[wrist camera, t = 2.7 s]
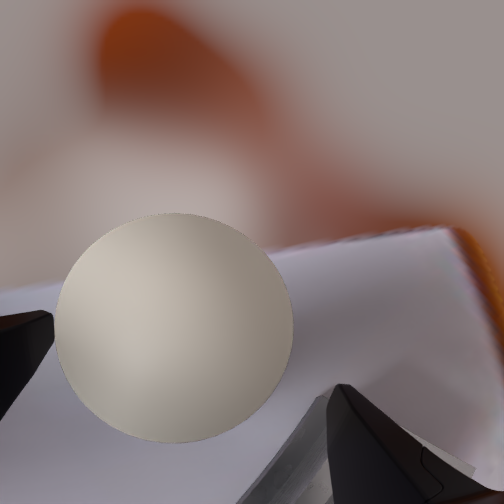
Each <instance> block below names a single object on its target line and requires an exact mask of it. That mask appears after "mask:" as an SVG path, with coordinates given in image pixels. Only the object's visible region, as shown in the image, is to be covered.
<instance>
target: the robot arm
mask: <svg viewBox="0 0 504 504" xmlns="http://www.w3.org/2000/svg"><path fill="white" fill-rule="evenodd" d="M54 339H55V331H54V318H53V315H52V314H51V313H49V312H47V311H44V310H38V311H32V312H25V313H19V314H13V315H7V316H0V421H1V419H2V418H3V416H4V415H5V414H6V412H7V411H8V409H9V408H10V406H11V405H12V404H13V402H14V401H15V399H16V398H17V397H18V395H19V394H20V393H21V391H22V390H23V388H24V387H25V386H26V384H27V383H28V382H29V380H30V379H31V378H32V376H33V375H34V373H35V372H36V370H37V368H38V367H39V365H40V363H41V362H42V360H43V358H44V357H45V355H46V354H47V352H48V350H49V349H50V347H51V346H52V344H53V342H54ZM326 427H327V455H328V463H329V470H330V477H331V485H332V493H333V501H334V504H504V491H495V490H491V489H489V488H486V487H485V486H483V485H481V484H479V483H478V482H476V481H475V480H473V479H471V478H470V477H468V476H466V475H465V474H463V473H462V472H460V471H458V470H457V469H455V468H454V467H452V466H451V465H449V464H448V463H446V462H445V461H443V460H442V459H441V458H439V457H438V456H437V455H435V454H434V453H433V452H431V451H430V450H429V449H428V448H427V447H425V446H423V444H421V443H420V442H419V441H418V440H416V439H415V438H414V437H413V436H411V435H410V434H409V433H408V432H406V431H405V430H404V429H403V428H402V427H400V426H399V425H398V424H397V423H395V422H394V421H393V420H392V419H391V418H389V417H388V416H387V415H386V414H384V413H383V412H382V411H381V410H380V409H378V408H377V407H376V406H375V405H374V404H372V403H371V402H370V401H369V400H368V399H366V398H365V397H364V396H363V395H362V394H360V393H359V392H358V391H357V390H356V389H355V388H353V387H352V386H351V385H348V384H337V385H336V386H335V388H334V390H333V393H332V395H331V397H330V399H329V401H328V404H327V408H326Z"/></svg>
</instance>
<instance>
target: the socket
mask: <svg viewBox="0 0 504 504" xmlns="http://www.w3.org/2000/svg"><path fill="white" fill-rule="evenodd" d="M328 401H329V399H327V398H326V397H324V396H320V397H317V398H316V399H315V401H314V402H313V404H312V405H311V407H310V408H309V410H308V411H307V413H306V414H305V416H304V417H303V418H302V420H301V421H300V423H299V424H298V426H297V427H296V428H295V430H294V431H293V433H292V434H291V435H290V437H289V438H288V439H287V441H286V442H285V443H284V445H283V446H282V447H281V449H280V450H279V451H278V453H277V454H276V455H275V457H274V458H273V459H272V461H271V462H270V463H269V464H268V466H267V467H266V468H265V469H264V471H263V472H262V473H261V474H260V476H259V477H258V478H257V479H256V480H255V482H254V483H253V484H252V485H251V486H250V488H249V489H248V490H247V491H246V492H245V494H244V495H243V496H242V497H241V498H240V499H239V500H238V502H237V503H236V504H334V501H333V493H332V485H331V477H330V470H329V463H328V455H327V427H326V408H327V404H328ZM399 426H400V425H399ZM400 427H402V426H400ZM402 428H403V427H402ZM403 429H404V430H405V431H406V432H408V433H409V434H410V435H411V436H413V437H414V438H415V439H416V440H418V441H419V442H420V443H421V444H423V446H425V447H427V448H428V449H429V450H430V451H431V452H433V453H434V454H435V455H437V456H438V457H439V458H441V459H442V460H443V461H445V462H446V463H448V464H449V465H451V466H452V467H454V468H455V469H457V470H458V471H460V472H462V473H463V474H465V475H466V476H468V477H470V478H472V476H473V474H474V471H475V469H476V468H475V467H473V466H471V465H469V464H467V463H465V462H463V461H461V460H460V459H458V458H456V457H454V456H452V455H450V454H449V453H447V452H445V451H443V450H441V449H440V448H438V447H436V446H434V445H433V444H431V443H429V442H427V441H426V440H424V439H422V438H420V437H419V436H417V435H415V434H413V433H412V432H410V431H408V430H407V429H405V428H403Z"/></svg>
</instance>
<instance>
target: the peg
mask: <svg viewBox="0 0 504 504" xmlns="http://www.w3.org/2000/svg"><path fill="white" fill-rule="evenodd" d="M55 342H56V350H57V354H58V357H59V361H60V365H61V367H62V369H63V372H64V374H65V376H66V379H67V381H68V382H69V384H70V386H71V387H72V389H73V390H74V392H75V394H76V395H77V396H78V397H79V399H80V400H81V401H82V402H83V403H84V405H85V406H86V407H87V408H88V409H89V410H91V411H92V412H93V413H94V414H95V415H96V416H97V417H98V418H100V419H101V420H103V421H104V422H106V423H107V424H109V425H110V426H112V427H113V428H115V429H117V430H119V431H121V432H123V433H126V434H128V435H131V436H134V437H137V438H140V439H143V440H148V441H154V442H160V443H186V442H194V441H200V440H203V439H207V438H211V437H214V436H217V435H219V434H221V433H224V432H226V431H228V430H230V429H232V428H234V427H235V426H237V425H239V424H240V423H242V422H243V421H245V420H246V419H248V418H249V417H250V416H251V415H252V414H253V413H255V412H256V411H257V410H258V409H259V408H260V407H261V406H262V405H263V404H264V403H265V401H266V400H267V399H268V398H269V397H270V396H271V394H272V393H273V391H274V390H275V388H276V386H277V385H278V383H279V382H280V380H281V378H282V376H283V373H284V371H285V369H286V367H287V364H288V360H289V357H290V353H291V349H292V342H293V313H292V306H291V302H290V298H289V295H288V291H287V289H286V286H285V284H284V282H283V279H282V277H281V275H280V274H279V272H278V270H277V269H276V267H275V265H274V264H273V263H272V261H271V260H270V259H269V258H268V256H267V255H266V254H265V253H264V252H263V251H262V250H261V249H260V248H259V247H258V246H257V245H256V244H255V243H254V242H253V241H251V240H250V239H249V238H248V237H246V236H245V235H244V234H242V233H240V232H239V231H237V230H235V229H233V228H232V227H230V226H228V225H226V224H223V223H221V222H219V221H215V220H212V219H209V218H206V217H202V216H196V215H191V214H180V213H172V214H158V215H151V216H147V217H143V218H139V219H136V220H133V221H130V222H127V223H125V224H123V225H121V226H119V227H117V228H115V229H113V230H111V231H110V232H108V233H107V234H105V235H103V236H102V237H101V238H99V239H98V240H97V241H96V242H95V243H93V244H92V245H91V246H90V247H89V248H88V249H87V250H86V251H85V252H84V253H83V254H82V255H81V257H80V258H79V259H78V261H77V262H76V263H75V265H74V266H73V267H72V269H71V271H70V273H69V274H68V276H67V278H66V280H65V282H64V285H63V287H62V289H61V292H60V295H59V299H58V303H57V307H56V314H55Z"/></svg>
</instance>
